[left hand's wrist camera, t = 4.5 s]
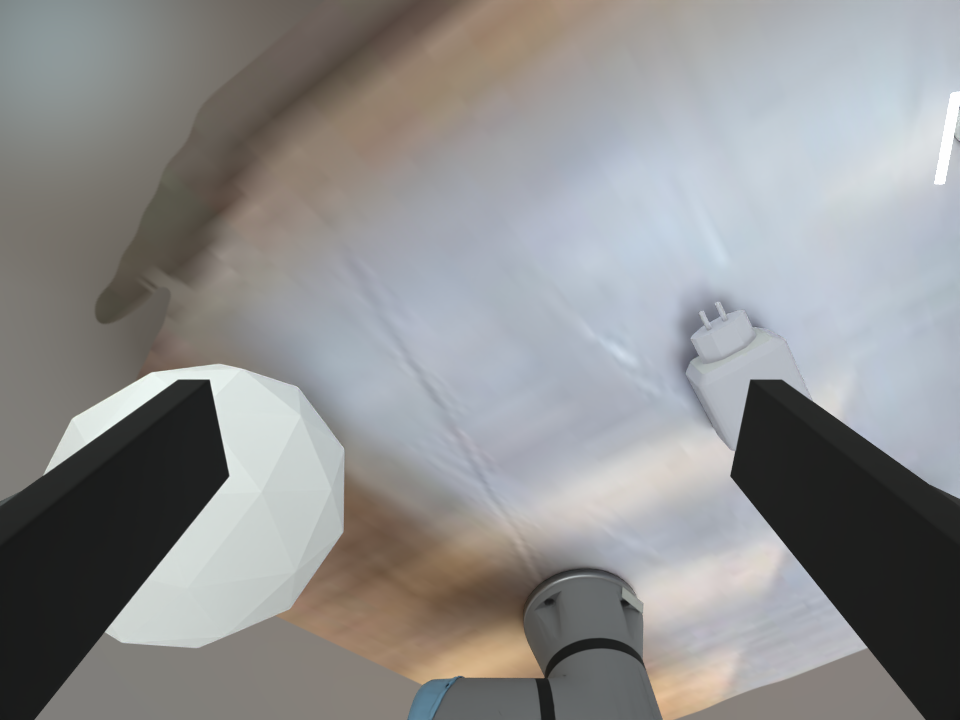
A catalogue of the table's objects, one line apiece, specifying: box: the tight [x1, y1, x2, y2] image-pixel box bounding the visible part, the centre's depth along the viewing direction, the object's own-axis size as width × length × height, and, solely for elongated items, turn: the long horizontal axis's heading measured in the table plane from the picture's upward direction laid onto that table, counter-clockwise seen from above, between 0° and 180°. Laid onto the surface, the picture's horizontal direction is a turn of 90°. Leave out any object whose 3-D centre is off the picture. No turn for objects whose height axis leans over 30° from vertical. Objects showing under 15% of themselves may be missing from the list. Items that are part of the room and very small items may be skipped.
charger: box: [685, 302, 812, 451], centre depth 52 cm, size 5×9×15 cm
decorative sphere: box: [44, 364, 344, 648], centre depth 47 cm, size 24×25×25 cm
